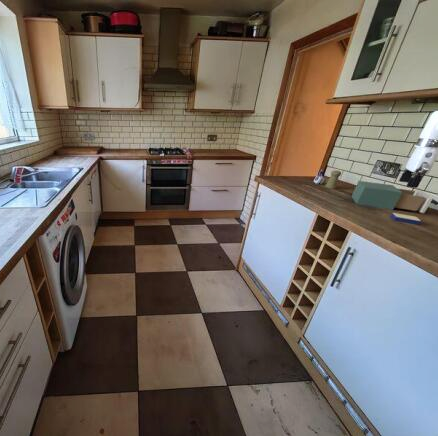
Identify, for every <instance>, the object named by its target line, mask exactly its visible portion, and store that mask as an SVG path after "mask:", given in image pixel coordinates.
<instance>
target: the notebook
mask: <svg viewBox="0 0 438 436" xmlns="http://www.w3.org/2000/svg"><path fill="white" fill-rule="evenodd" d="M390 218H391V219H392V220H393V221H394V222H399V223H405V224H411V225H416V226H420V224H421V223H422V220H421V219H420V218H418V217H417V216H414V215H408V214H402V213H397V212H391V214H390Z"/></svg>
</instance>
